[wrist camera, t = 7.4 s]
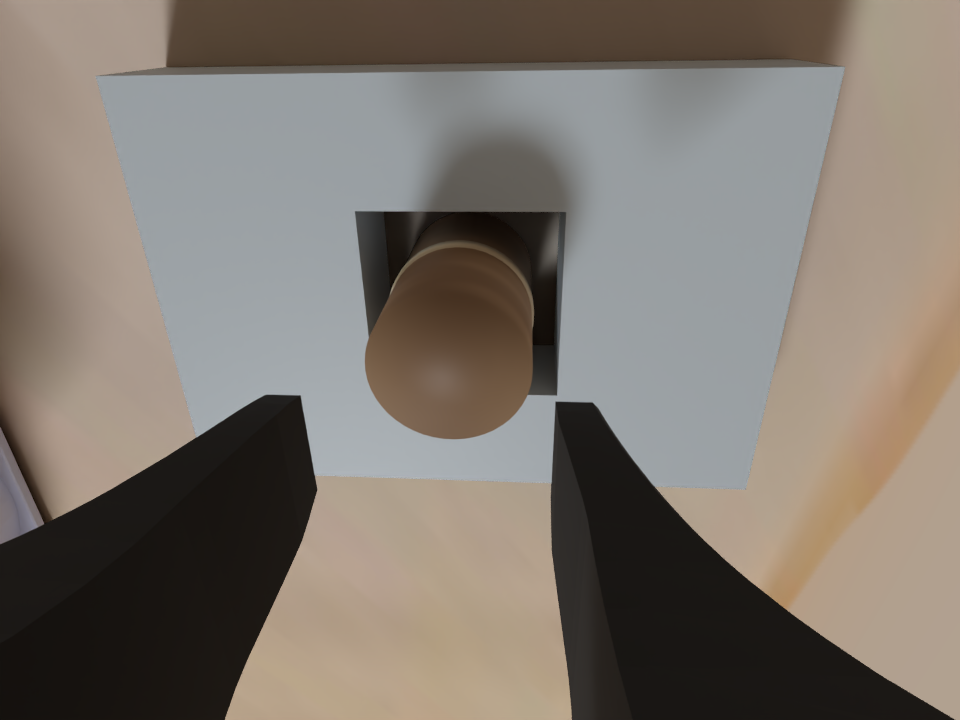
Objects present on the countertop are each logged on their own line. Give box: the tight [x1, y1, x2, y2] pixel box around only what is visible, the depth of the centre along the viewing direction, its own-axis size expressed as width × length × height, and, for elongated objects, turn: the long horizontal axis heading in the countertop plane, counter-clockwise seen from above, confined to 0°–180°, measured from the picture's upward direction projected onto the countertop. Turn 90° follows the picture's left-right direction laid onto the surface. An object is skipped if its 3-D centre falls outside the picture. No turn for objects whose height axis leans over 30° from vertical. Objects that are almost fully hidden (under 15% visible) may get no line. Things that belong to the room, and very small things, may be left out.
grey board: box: [96, 59, 845, 490], centre depth 17 cm, size 11×16×3 cm
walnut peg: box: [365, 212, 534, 439], centre depth 16 cm, size 4×4×6 cm
